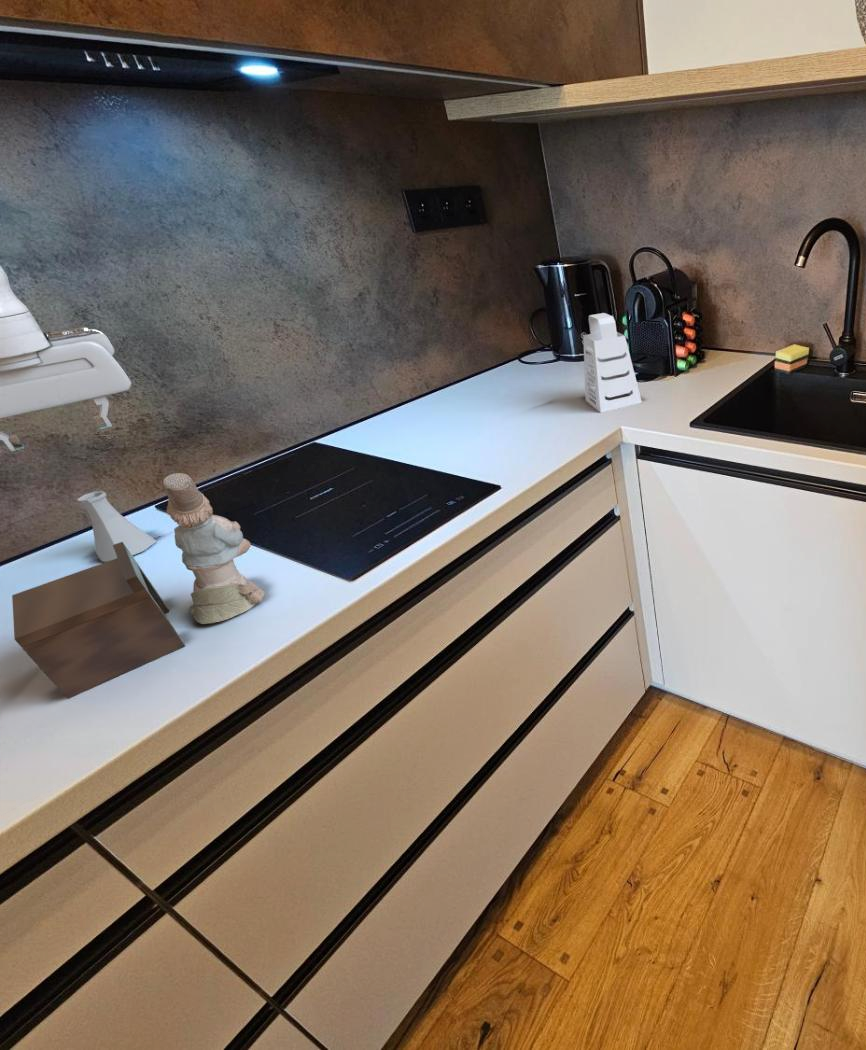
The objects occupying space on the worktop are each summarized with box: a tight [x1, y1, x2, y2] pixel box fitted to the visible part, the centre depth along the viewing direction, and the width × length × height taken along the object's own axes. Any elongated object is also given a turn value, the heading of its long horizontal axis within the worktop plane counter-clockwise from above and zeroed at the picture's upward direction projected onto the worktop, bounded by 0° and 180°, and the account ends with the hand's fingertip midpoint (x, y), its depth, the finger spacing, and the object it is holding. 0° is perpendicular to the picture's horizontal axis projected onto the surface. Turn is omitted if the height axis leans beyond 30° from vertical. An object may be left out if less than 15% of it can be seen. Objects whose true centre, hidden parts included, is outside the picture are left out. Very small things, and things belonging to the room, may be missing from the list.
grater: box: [582, 312, 643, 414], centre depth 136 cm, size 10×10×20 cm
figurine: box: [162, 472, 266, 625], centre depth 74 cm, size 9×8×20 cm
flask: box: [76, 490, 157, 563], centre depth 91 cm, size 7×7×10 cm
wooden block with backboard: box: [11, 542, 186, 700], centre depth 70 cm, size 11×12×11 cm
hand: (64, 438), depth 84 cm, fingers open, 8 cm apart
